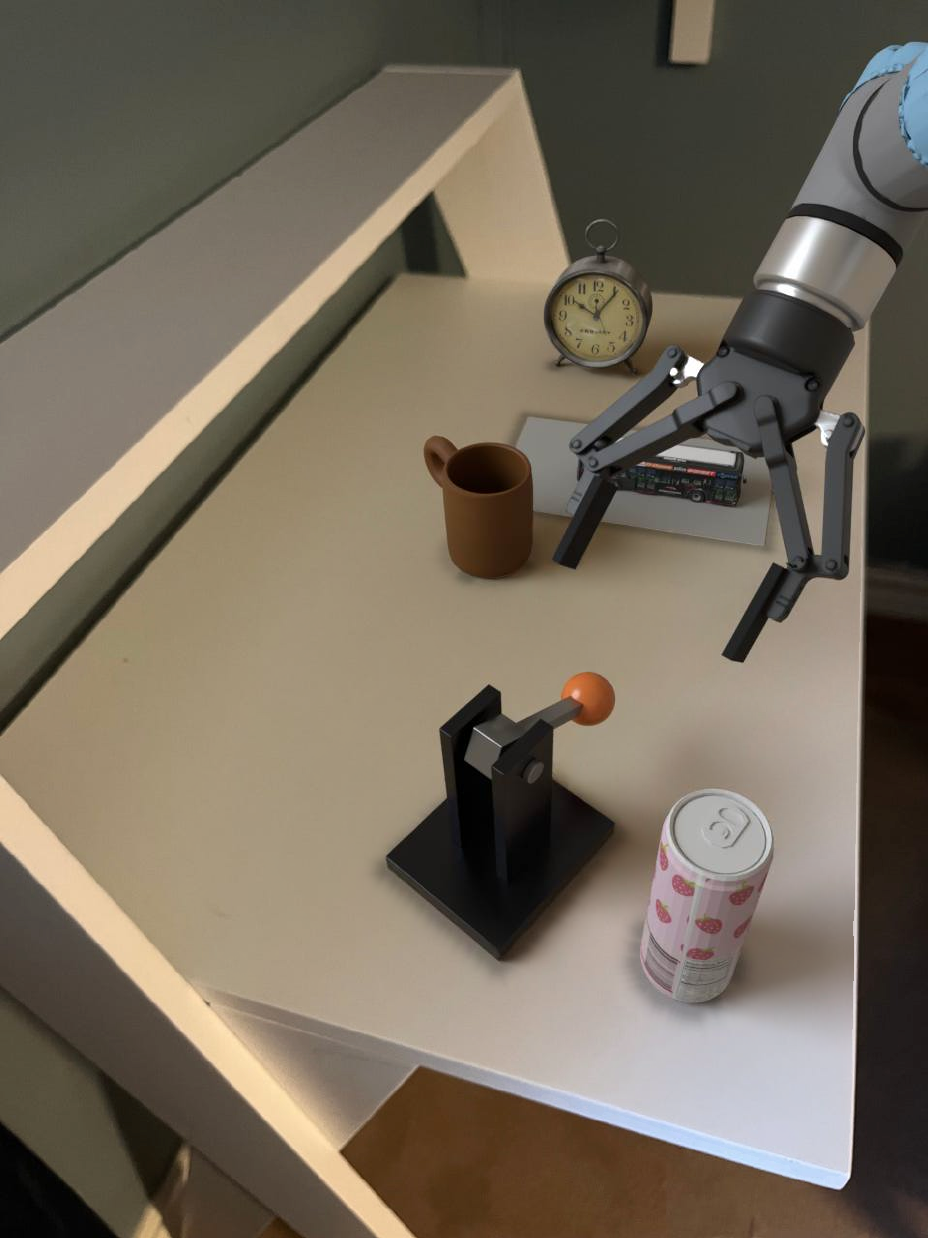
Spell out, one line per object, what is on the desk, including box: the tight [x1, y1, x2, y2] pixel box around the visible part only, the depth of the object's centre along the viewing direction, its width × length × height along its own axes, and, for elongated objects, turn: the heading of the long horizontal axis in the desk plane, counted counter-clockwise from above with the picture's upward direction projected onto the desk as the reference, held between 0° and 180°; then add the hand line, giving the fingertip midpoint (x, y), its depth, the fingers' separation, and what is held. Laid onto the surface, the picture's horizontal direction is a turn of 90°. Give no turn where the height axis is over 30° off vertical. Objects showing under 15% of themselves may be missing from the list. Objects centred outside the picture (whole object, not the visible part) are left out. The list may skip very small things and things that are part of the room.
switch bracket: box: [385, 683, 616, 962], centre depth 60 cm, size 12×10×14 cm
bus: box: [514, 416, 773, 547], centre depth 91 cm, size 14×25×4 cm, turn 73°
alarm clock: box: [543, 218, 654, 375], centre depth 100 cm, size 11×5×16 cm, turn 73°
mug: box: [423, 435, 534, 579], centre depth 84 cm, size 12×8×9 cm, turn 40°
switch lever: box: [464, 671, 616, 779], centre depth 61 cm, size 13×4×4 cm, turn 138°
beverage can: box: [639, 788, 775, 1004], centre depth 54 cm, size 6×6×15 cm
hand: (643, 610), depth 64 cm, fingers open, 13 cm apart
